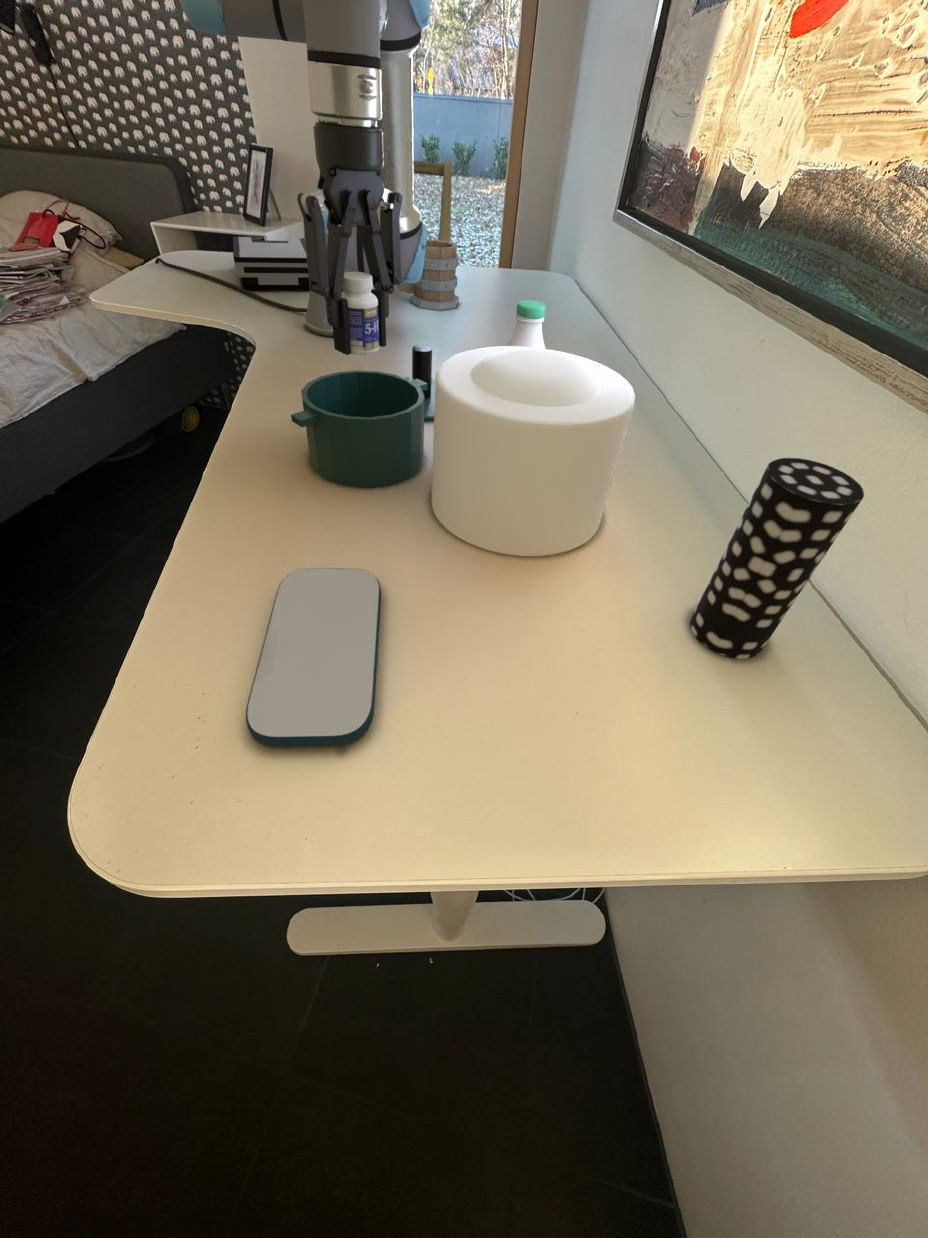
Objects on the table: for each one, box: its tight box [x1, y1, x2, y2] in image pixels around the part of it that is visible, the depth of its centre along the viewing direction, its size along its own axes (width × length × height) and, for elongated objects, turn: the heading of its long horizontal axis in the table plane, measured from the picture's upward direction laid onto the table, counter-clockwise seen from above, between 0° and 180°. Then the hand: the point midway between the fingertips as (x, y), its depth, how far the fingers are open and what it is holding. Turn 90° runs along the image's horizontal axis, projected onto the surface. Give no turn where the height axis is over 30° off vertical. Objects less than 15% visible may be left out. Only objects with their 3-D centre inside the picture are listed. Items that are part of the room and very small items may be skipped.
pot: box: [290, 370, 427, 489], centre depth 84 cm, size 18×23×10 cm
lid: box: [403, 344, 436, 420], centre depth 102 cm, size 19×19×10 cm
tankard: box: [396, 239, 460, 311], centre depth 148 cm, size 20×13×15 cm, turn 80°
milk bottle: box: [505, 299, 547, 349], centre depth 93 cm, size 8×8×20 cm
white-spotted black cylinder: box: [689, 457, 865, 660], centre depth 57 cm, size 8×8×20 cm
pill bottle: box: [341, 272, 380, 356], centre depth 73 cm, size 5×5×9 cm
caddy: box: [405, 158, 453, 285], centre depth 160 cm, size 29×11×30 cm, turn 77°
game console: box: [232, 236, 310, 291], centre depth 158 cm, size 21×32×8 cm, turn 17°
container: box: [430, 345, 636, 557], centre depth 74 cm, size 25×25×20 cm
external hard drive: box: [245, 567, 382, 748], centre depth 57 cm, size 24×12×2 cm, turn 4°
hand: (360, 347), depth 76 cm, fingers closed on pill bottle, 5 cm apart
